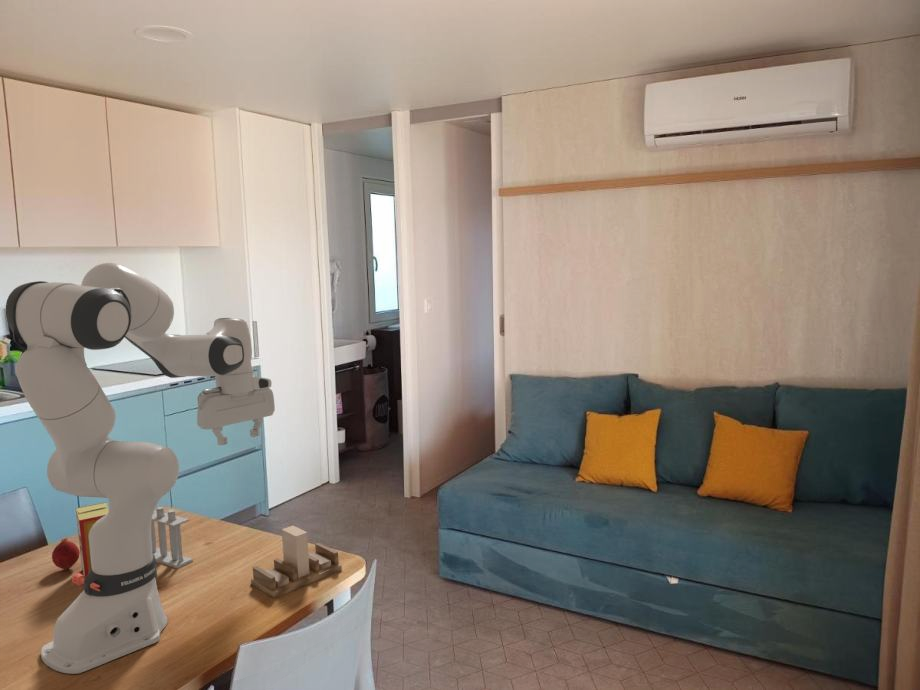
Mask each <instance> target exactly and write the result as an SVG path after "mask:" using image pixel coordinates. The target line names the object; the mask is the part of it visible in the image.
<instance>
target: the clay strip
mask: <svg viewBox="0 0 920 690" xmlns="http://www.w3.org/2000/svg"><path fill="white" fill-rule="evenodd" d="M281 537H282V539H281V540H282V554H283V557H282V558H283V561H284V562H286V563H287V564H289V565H291V566H293V567H295V568H296V570H297V578H300V577H302V576H305V575H307V574H310V572H309V555H308V554H309V543H308V539H309V537H308V532H307V531H305V530H303V529H302V528H300V527H297V526H295V525H291V526H287V527H284V528H282V529H281Z"/></svg>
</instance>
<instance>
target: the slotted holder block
mask: <svg viewBox="0 0 920 690" xmlns="http://www.w3.org/2000/svg"><path fill="white" fill-rule="evenodd" d="M308 555H309V572H310V574H307V575H305V576H302V577H300V578H297V570H296V568H295V567H293V566H291V565H289V564H287V563H286V562H284V560H282V559H280V558H278V557H276V558H275V559H273V567H274V568H273V567H271V568H268V569H266V570H265V569H263V568H261V567H260V566H257V565H256V566H253V567H252V575H253V576H252V577H251V578H250V583H251V585H253V586H254V587H256V588H257V589H258V590H260V589H261V590H260V591H263V592H264V593H265V594H266V595H269V596H270V597H271V598H273V599H276V598H278V597H281V596H283V595H286V594H287V593H290V592H293V591H295V590H297V589H299V588H302V587H304V586H307V585H310V584H312V583H313V582H316V581H318V580H321V579H324V578H325V577H328V576H331V575H333V574H336V573H338V572H339V571H342V570H343V568H342V567H343V566H342V564H340V562H339V551H337V550H334V549H333V548H331V547H328V546H327V545H324V544H322V543H321V542H317V543H315V551H312V552H309V553H308Z"/></svg>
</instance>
